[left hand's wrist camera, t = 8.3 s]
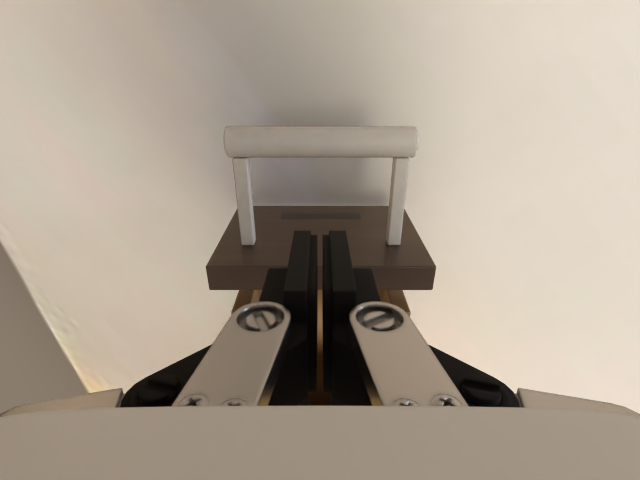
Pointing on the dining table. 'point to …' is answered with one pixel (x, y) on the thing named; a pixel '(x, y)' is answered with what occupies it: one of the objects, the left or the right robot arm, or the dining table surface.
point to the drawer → (321, 219)
